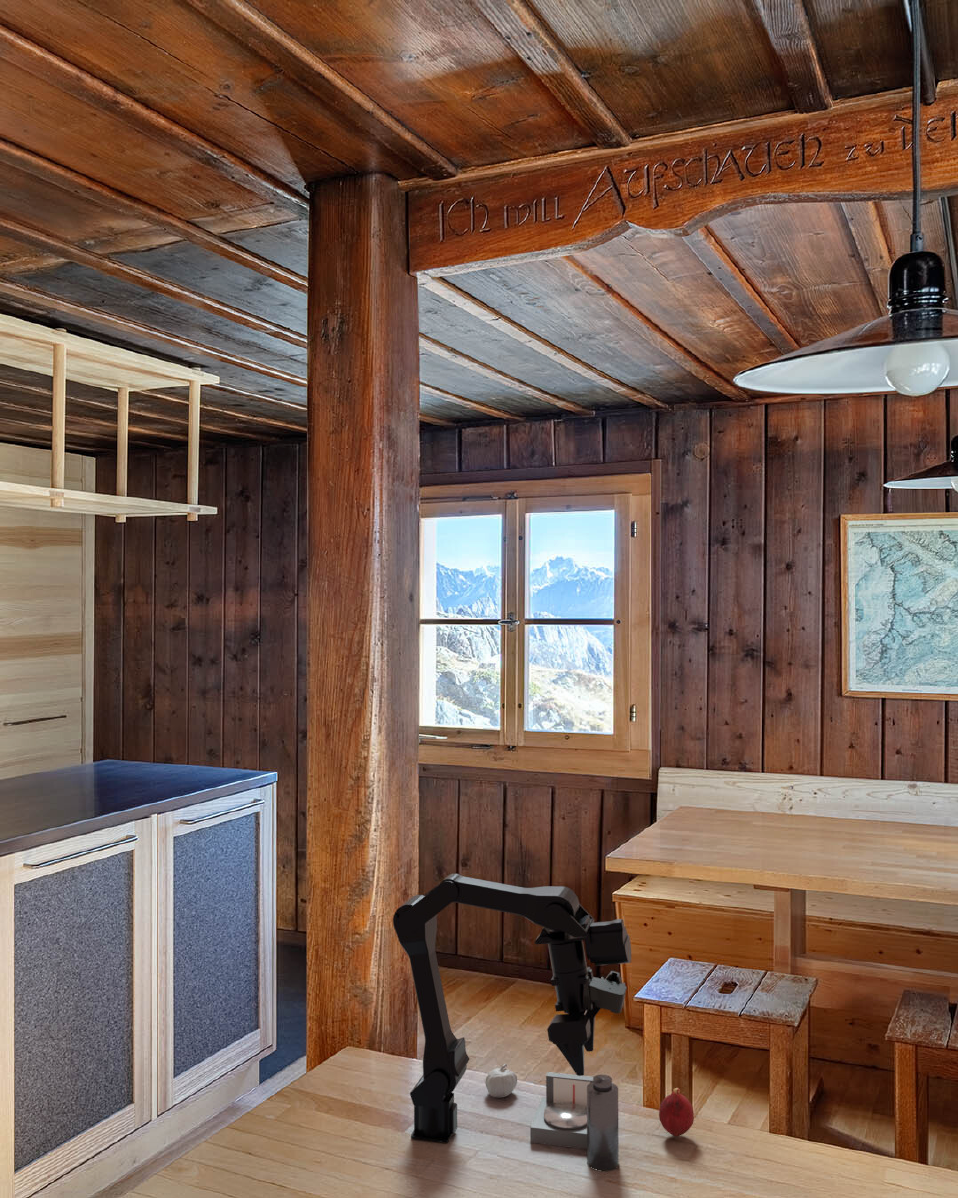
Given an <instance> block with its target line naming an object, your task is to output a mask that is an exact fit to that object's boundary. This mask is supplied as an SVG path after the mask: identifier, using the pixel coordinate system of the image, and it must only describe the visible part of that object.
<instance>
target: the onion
mask: <svg viewBox="0 0 958 1198" xmlns="http://www.w3.org/2000/svg"><path fill="white" fill-rule="evenodd" d="M658 1117H659V1121H660V1124H661V1125H662V1128H664V1130H665V1131H666V1132H667V1133H669V1134H670V1135H671V1136H673V1137H675V1138H678V1137H681V1136H682V1135H684V1134H685V1133H687V1132H688V1131H689V1130H690V1129H691V1127H692V1126H693V1125H694V1119H695V1113H694V1108H693V1105H692V1104H691V1102H690V1100H688V1098H687V1097H686V1096H685V1095H683V1094H682V1093H681V1089H680V1088H679V1087H676V1088H673V1091H672V1093H670V1094H669V1095H667V1096H666V1097H664V1098H663V1100H662V1101H661V1102H660V1105H659V1111H658Z"/></svg>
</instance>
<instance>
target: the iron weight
mask: <svg viewBox="0 0 958 1198" xmlns="http://www.w3.org/2000/svg"><path fill="white" fill-rule="evenodd" d="M592 1077H593V1082H591V1083H590V1084H588V1085H587V1149H586V1163H587V1165H588V1167H590V1168H591V1167H592V1168H594V1169H593V1170H595V1169H597V1170H596V1171H598V1170H601V1171H600V1172H610V1170H611V1171H614V1170H616V1169H617V1168H618V1167H619V1162H620V1158H619V1157H620V1156H619V1151H620V1150H619V1086H618V1085H616V1084H615V1083H613V1078H612V1077H611V1076H610V1075H607V1074H602V1073H601V1074H596V1075H594V1076H592ZM616 1167H617V1168H616ZM592 1168H591V1169H592ZM613 1169H614V1170H613Z"/></svg>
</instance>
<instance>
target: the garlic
mask: <svg viewBox="0 0 958 1198" xmlns="http://www.w3.org/2000/svg"><path fill="white" fill-rule="evenodd" d="M507 1066H508V1063H504V1064H503V1065H502V1066H501V1067H497V1068H494V1069H492V1070H491V1071H490V1072H489V1073H488V1074H487V1075H486V1078H485V1087H486V1089H487V1092H488V1094H489V1095H490V1096H491V1097H493V1098H504V1097H507V1096H509V1095H511V1094H512V1093H513V1091H514V1090H515V1089H516V1087H517V1084H518V1077H517V1074H516V1073H515V1072H514V1071H512V1070H510V1069H508V1068H506V1067H507Z"/></svg>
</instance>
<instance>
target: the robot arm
mask: <svg viewBox="0 0 958 1198" xmlns="http://www.w3.org/2000/svg"><path fill="white" fill-rule="evenodd" d="M452 903H457V904H460V905H461V904H462V905H467V906H472V907H476V908H482V909H488V910H492V911H498V912H503V913H508V914H512V915H518V916H521V917H523V918H525V919H526V920H528V921H530V922H531V923H532V924H534V925H537V926H540V927H542V929H541V931H540V933H539V934H538V936H537V937H536V939H535V940H534V944H536V945H547V948H548V952H549V959H550V964H551V970H552V977H551V979H550V984H551V987H554V989H555V994H556V999H557V1001H556V1002H555V1004H554V1008H555V1012H563V1013H565V1014H563V1013H562V1014H555V1016H554V1017H553V1018H552V1019H551V1021H550V1022H549V1025H548V1027H547V1031H546V1032H547V1036H548V1041H549V1042H550V1043H552V1045H555V1046H556V1047H557V1049H558V1050H559V1051H560V1053H561V1054H562V1055H563V1056H564V1057H563V1058H565V1060H566V1061H567V1062H568V1064H569V1065H570V1066H571V1069H572V1070H573V1071H574V1072H575V1073H574V1074H575V1075H577V1076H585V1051H586V1052H593V1051H594V1046H595V1045H594V1043H595V1024H596V1023H595V1022H596V1015H598V1013H599V1011H600V1010H601V1009H604V1010H607V1011H610V1012H611V1013H614V1014H621V1013H622V1010H623V1007H624V1004H625V999H626V992H627V988H628V987H627V986H626V983H625V982H623V980H622V977H621V976H622V975H621V973H620V972H617V971H614V970H610V972H609V973H608V974H607V976H606V977H604V976H601V978H599V977H595V976H594V973H593V969H592V968H591V967H590V966H588V965H587V960H589V962H590V964H594V965H595V967H599V966H610V965H611V966H612V965H623V964H631V962H632V945H631V938H630V935H629V934H628V930H627V928H626V926H625V923H624V922H625V921H624V919H623V918H617V919H613V920H610V921H598V922H595V918H594V917H593V916H592V915H591V913H589V912H588V910H586V909H585V908H584V907H583V905H581V903H580V900H579V898H578V896H577V895H576V893H575V891H574V890H573V889H571V888H569V887H567V886H563V885H562V886H561V885H559V886H557V885H556V886H555V885H553V886H551V885H550V886H549V885H545V886H544V885H543V886H536V887H521V886H516V885H512V884H507V883H506V884H505V883H501V882H496V881H489V880H484V879H478V878H473V877H468V876H463V875H460V874H459V873H451V874H448V875H447V876H445V878H444V879H443V880H441V881H440V883H438V884H437V885H436V886H434V887H433V888H432V889H430V890H429V891H428V892H427V893H425V894H424V895H423V894H415V895H413V896H411V897H410V898H408V899H407V900H406V901H405V902H404V903H403V904H402V905H400V906H399V907H398V908H397V909H396V910H395V912H394V914H393V916H392V925H393V929H394V932H395V933H396V937H397V939H398V942H399V944H400V946H401V947H402V949H403V950H404V952H406V955H407V956H408V959H409V964H410V968H411V969H410V970H411V974H412V979H413V984H414V989H415V994H416V999H417V1005H418V1009H419V1015H420V1019H421V1024H422V1030H423V1034H424V1047H423V1055H422V1056H423V1058H422V1075H421V1077H420V1079H419V1080H418V1082H416V1084H415V1086H414V1087H413V1088H412V1089H411V1091H410V1092H409V1096H410V1098H411V1103H412V1104H413V1128H414V1129H413V1130H412V1132H411V1133H410V1138H411V1139H412V1140H419V1141H427V1142H437V1143H443V1144H446V1143H448V1142H449V1141H450V1140H451V1137H452V1136H453V1135H454V1134H455V1132H456V1129H457V1128H458V1104H457V1102H455V1092H454V1090H455V1089H456V1087H457V1085H458V1084H459V1083H460V1081H461V1080H462V1078H463V1076H464V1075H465V1073H466V1071H467V1066H468V1065H467V1064H468V1063H469V1062H470V1056H468V1053H467V1050H466V1039H465V1037H460V1038H457V1037H456V1035H455V1034H454V1033H453V1031H452V1028H451V1025H450V1019H449V1014H448V1009H447V1003H446V998H445V993H444V987H443V983H442V979H441V978H442V977H441V974H440V973H441V972H440V969H439V968H440V967H439V964H438V963H439V961H438V958H437V953H436V942H437V941H436V940H437V934H438V933H437V932H438V916H437V915H438V914H439V913H440V912H442V911H443V910H444V909H445V908H447V907H448V906H449V905H451V904H452ZM583 941H584V942H583Z"/></svg>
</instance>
